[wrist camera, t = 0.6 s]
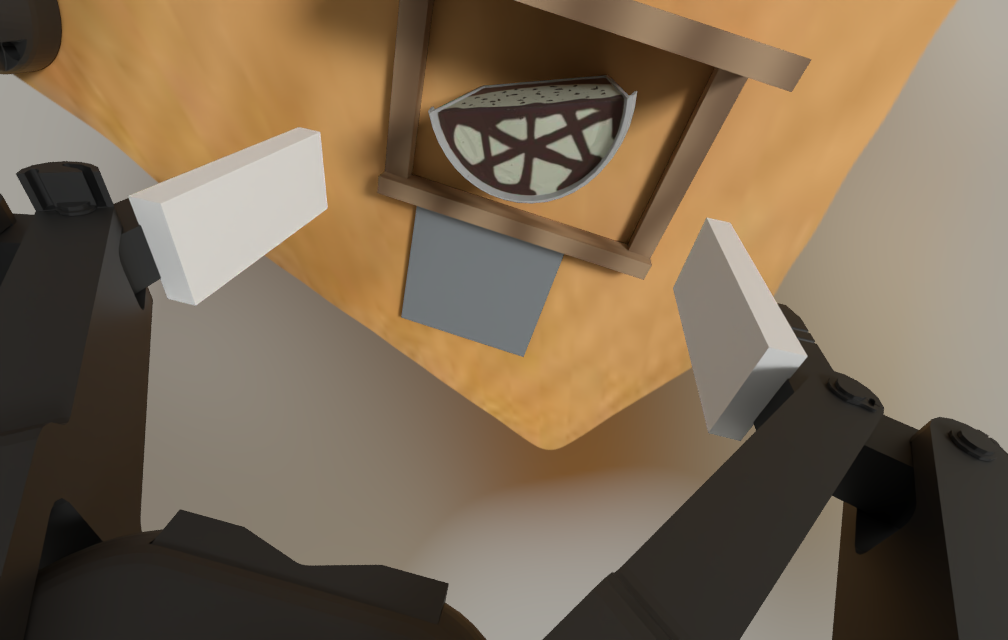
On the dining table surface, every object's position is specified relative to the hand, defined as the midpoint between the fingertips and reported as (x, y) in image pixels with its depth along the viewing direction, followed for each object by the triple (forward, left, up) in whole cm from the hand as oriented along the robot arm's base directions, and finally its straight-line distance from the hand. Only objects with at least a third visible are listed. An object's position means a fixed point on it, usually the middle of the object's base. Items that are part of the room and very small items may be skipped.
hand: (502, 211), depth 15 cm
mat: (-2, -18, -22) cm, 29 cm away
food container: (0, -2, -22) cm, 23 cm away
